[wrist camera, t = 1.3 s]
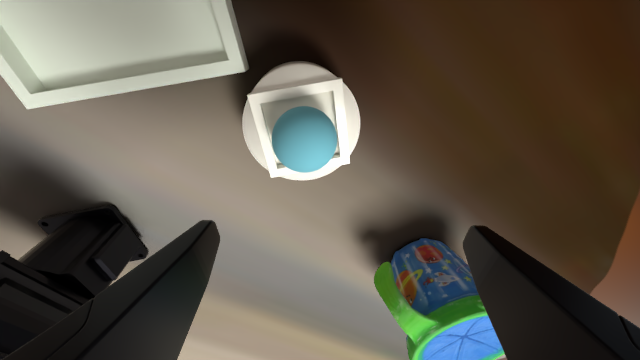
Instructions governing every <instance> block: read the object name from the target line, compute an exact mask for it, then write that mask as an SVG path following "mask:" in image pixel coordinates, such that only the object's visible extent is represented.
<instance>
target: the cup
mask: <svg viewBox="0 0 640 360" xmlns="http://www.w3.org/2000/svg"><path fill="white" fill-rule="evenodd" d="M247 97H248V99H247V101H246V104H245V108H244V112H243V120H242V126H243V134H244V138H245V141H246V144H247V146H248V148H249V150H250V152H251V154H252V155H253V156H254V158H255V159H256V160H257V161H258V162H259V163H260V164H261V165H262V166H263V167H264V168H266V169H267V170H269V172H270V176H271V178H273V177H278V176H281V177H283V178H287V179H292V180H311V179H316V178H319V177H322V176H325V175H327V174H329V173H331V172H333V171H334V170H336V169H337V168H338V167H340V166H341V165H343V164H349V163H350V160H349V156H350V154H351V153H352V151H353V149H354V148H355V145H356V143H357V140H358V136H359V131H360V114H359V109H358V106H357V103H356V101H355V98H354V96H353V95H352V93H351V91H350V90H349V89H348V87H347V86H346V85H345V84H344V83H343V82H342V78H340V77H339V78H338V77H336V76H335V75H334V74H332V73H331V72H330V71H328V70H327V69H325V68H324V67H322V66H320V65H317V64H314V63H311V62H306V61H292V62H287V63H283V64H281V65H278V66H276V67H274V68H273V69H271V70H270V71H268V72H267V73H266V74H265V75H264V76H263V77H262V78H261V79H260V81H259V82H258V83H257V85H256V86H255V88H254V89H253V91H252V92H251V93H248V95H247ZM299 106H309V107H313V108H316V109H318V110H320V111H322V112H324V113H325V114H326V115H327V116H328V117H329V118H330V119H331V121H332V122H333V124H334V126H335V129H336V132H337V147H336V151H335V153H334V155H333V157H332V159H331V160H330V161H329V162H328V163H327V164H326V165H325V166H324V167H322V168H321V169H319V170H316V171H314V172H308V173H301V172H296V171H293V170H291V169H289V168H287V167H286V166H284V165H283V164H282V163H281V162H280V161H279V160H278V158H277V157H276V155H275V153H274V150H273V148H272V139H271V138H272V131H273V128H274V125H275V123H276V121H277V120H278V119H279V117H280V116H281V115H282V114H284V113H285V112H286V111H288V110H290V109H292V108H295V107H299Z"/></svg>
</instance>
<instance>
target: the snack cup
mask: <svg viewBox="0 0 640 360" xmlns="http://www.w3.org/2000/svg"><path fill="white" fill-rule="evenodd" d="M374 284H375V287H376V289H377V291H378V292H379V294H380V296H381V297H382V299H383V301H384V302H385V304H386V305H387V307H388V309H389V310H390V312H391V314H392V315H393V317H394V318H395V320H396V321H397V323H398V324H399V325H400V327H401V328H402V329H403V330H404V332H405V333H406V334H407V338H406V340H407V349H408V355H409V359H410V360H495V359H496V358H498V357H500V356H502V355H503V354H505V353H504V351H503V349H502V346H501V344H500V342H499V340H498V337H497V335H496V333H495V330H494V328H493V326H492V324H491V321H490V319H489V317H488V315H487V312H486V310H485V308H484V306H483V303H482V301H481V299H480V296H479V294H478V292H477V289H476V286H475V283H474V280H473V277H472V274H471V271H470V268H469V266H468V265H467V264H466V263H465V262H464V261H463V260H462V259H461V258H460V257H459V256H458V255H457V254H456V253H455V252H453V251H452V250H451V249H450V248H449V247H448V246H446V245H445V244H444V243H442V242H441V241H437V240H430V239H427V238H420V240H418V241H414V242H412V243H410V244H408V245H406V246H405V247H403V248H402V249H400V250H399V251H396V252H395V254H394V256H393V259H392V261H391V264H390V263H389V262H384V263H382V264H381V266H380V267H379V268H378V269H377V271H376V273H375V276H374Z"/></svg>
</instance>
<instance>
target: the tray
mask: <svg viewBox="0 0 640 360" xmlns="http://www.w3.org/2000/svg"><path fill="white" fill-rule="evenodd" d="M248 69H249V65H248V61H247V58H246V54H245V50H244V47H243V43H242V39H241V36H240V32H239V28H238V24H237V21H236V17H235V13H234V10H233V6H232V2H231V0H0V75H1V76H2V77H3V78H4V80H5V81H6V82H7V84H8V85H9V86H10V88H11V89H12V90H13V91H14V93H15V94H16V95H17V97H18V98H19V99H20V101H21V102H22V103H23V105H24V106H25V107H26V108H27V109H32V108H38V107H44V106H50V105H56V104H61V103H67V102H73V101H79V100H85V99H90V98H96V97H102V96H108V95H114V94H119V93H125V92H131V91H137V90H143V89H148V88H154V87H160V86H166V85H172V84H177V83H183V82H189V81H195V80H201V79H206V78H212V77H218V76H224V75H230V74H235V73H241V72H246V71H247V70H248Z"/></svg>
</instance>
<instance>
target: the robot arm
mask: <svg viewBox="0 0 640 360" xmlns="http://www.w3.org/2000/svg"><path fill="white" fill-rule="evenodd" d="M109 211H110V212H109ZM38 224H39V226H40V227H41V228H42V229H43V230H44V231H45V232H46V233H47V234H48V236H47V237H46V238H44V239H43V240H42V241H41V242H39V243H38V244H37V245H36V246H35V247H33V248H32V249H31V250H30V251H28V252H27V253H26V254H25V255H24V256H22V257H21V258H20V259H19V260H16V259H14V258H12V257H10V254H8V253H7V252H5V251H3V250H2V251H0V360H177V358H178V356H179V354H180V351H181V349H182V346H183V344H184V341H185V339H186V336H187V334H188V331H189V329H190V326H191V324H192V321H193V319H194V316H195V314H196V312H197V309H198V307H199V304H200V302H201V299H202V297H203V294H204V292H205V289H206V287H207V284H208V281H209V278H210V275H211V271H212V268H213V264H214V261H215V257H216V254H217V250H218V247H219V243H220V235H219V232H218V229H217V226H216V224H215V222H214V221H213V220H202V221H200V222H198V223H197V224H196V225H194V226H193V227H191V228H190V229H189V230H187V231H186V232H184V233H183V234H182V235H180V236H179V237H177V238H176V239H175V240H173V241H172V242H170V243H169V244H168V245H166V246H165V247H163V248H162V249H161V250H159V251H158V252H156V253H155V254H154V255H152V256H151V257H149V258H148V259H147V260H145V261H144V262H142V263H141V264H140V265H138V266H137V267H135V268H134V269H133V270H131V271H130V272H128V273H127V274H126V275H124V276H123V277H121V278H120V279H119V280H117V281H116V282H114V283H113V284H112V285H110V284H111V283H112V281H113V280H116V279H117V278H118V276H119V275H120V273H121V272H122V271H123V269H124V268H125V267H126V265H127V264H128V262H130V261H135V260H140V259H144V258H146V257H147V255H148V251H147V250H146V249H145V247H144V246H143V244H142V243H141V242H140V240H139V239H138V238H137V236H136V235H135V234H134V232H133V231H132V229H131V228H130V227H129V225H128V224H127V223H126V221H125V220H124V218H123V217H122V216H121V214H120V213H119V212H118V210H117V209H116V208H115V207H113V206H110V205H107V206H102V207H96V208H91V209H85V210H80V211H74V212H69V213H63V214H58V215H53V216H47V217H43V218H42V219H40V220H39V221H38ZM463 249H464V252H465V255H466V259H467V262H468V265H469V268H470V271H471V274H472V277H473V280H474V283H475V286H476V289H477V292H478V294H479V296H480V299H481V301H482V303H483V306H484V308H485V310H486V312H487V315H488V317H489V319H490V321H491V324H492V326H493V328H494V330H495V333H496V335H497V337H498V340H499V342H500V344H501V346H502V349H503V351H504V353H505V355H506V358H507V360H640V328H639V327H637V326H636V325H634V324H633V323H631V322H630V321H628V320H627V319H625V318H624V317H622V316H618V314H617V313H616V312H615V311H613V310H612V309H610V308H609V307H607V306H605V305H604V304H602V303H601V302H599V301H598V300H596V299H595V298H593V297H592V296H590V295H589V294H587V293H586V292H584V291H583V290H581V289H580V288H578V287H577V286H575V285H574V284H572V283H571V282H569V281H568V280H566V279H565V278H563V277H562V276H560V275H559V274H557V273H556V272H554V271H553V270H551V269H550V268H548V267H547V266H545V265H544V264H542V263H540V262H539V261H537V260H536V259H534V258H533V257H531V256H530V255H528V254H527V253H525V252H524V251H522V250H521V249H519V248H518V247H516V246H515V245H513V244H512V243H510V242H509V241H507V240H506V239H504V238H503V237H501V236H500V235H498V234H497V233H495V232H494V231H492V230H491V229H489V228H488V227H486V226H471V227H470V228H469V230H468V232H467V234H466V236H465V239H464V241H463ZM109 285H110V286H109Z"/></svg>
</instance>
